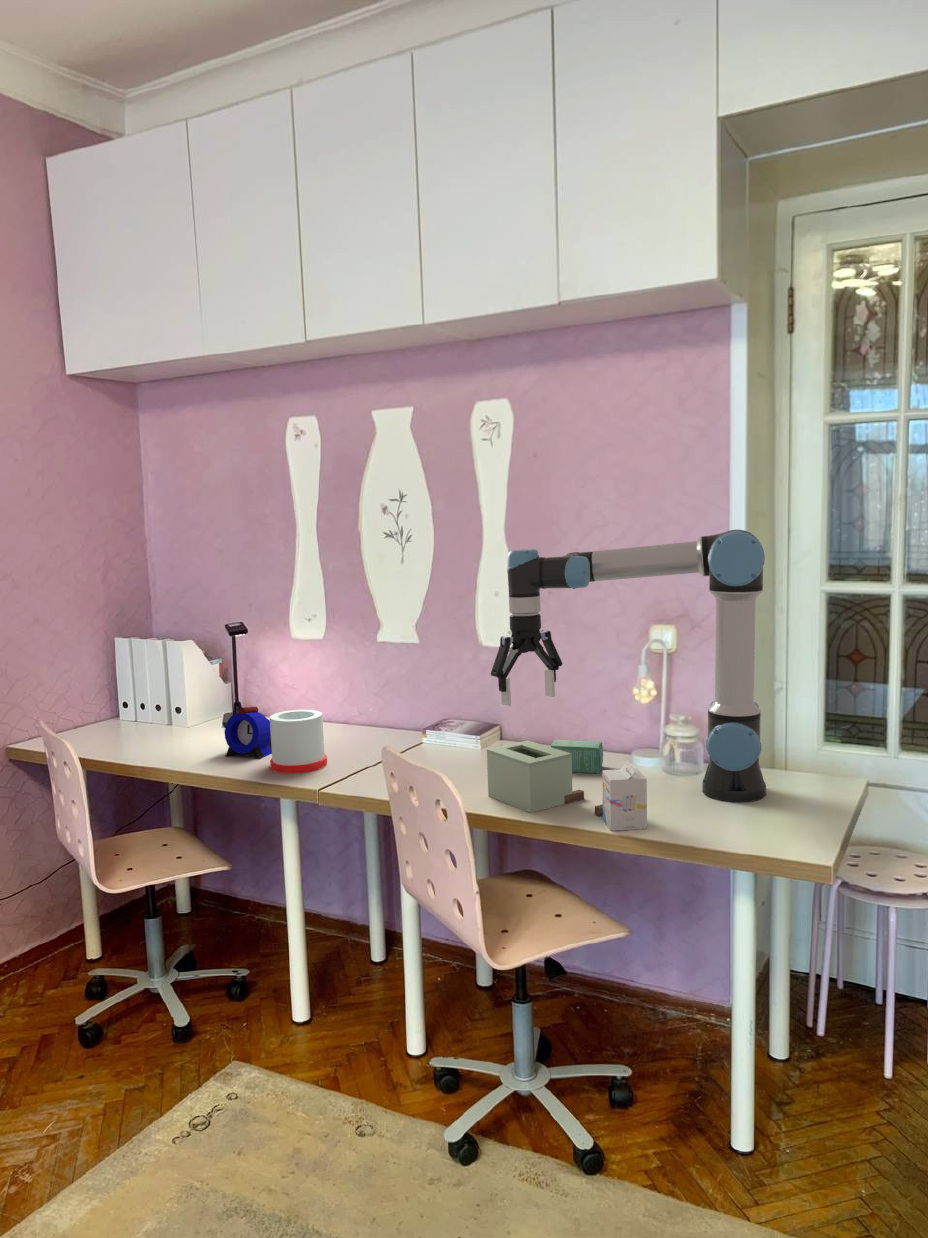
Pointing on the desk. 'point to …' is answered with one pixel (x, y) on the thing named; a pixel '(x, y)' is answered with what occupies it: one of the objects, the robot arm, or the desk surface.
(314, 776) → the desk surface
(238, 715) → the alarm clock
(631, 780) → the ink box
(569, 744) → the box
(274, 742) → the container
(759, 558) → the robot arm
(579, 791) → the cradle
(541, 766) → the box
